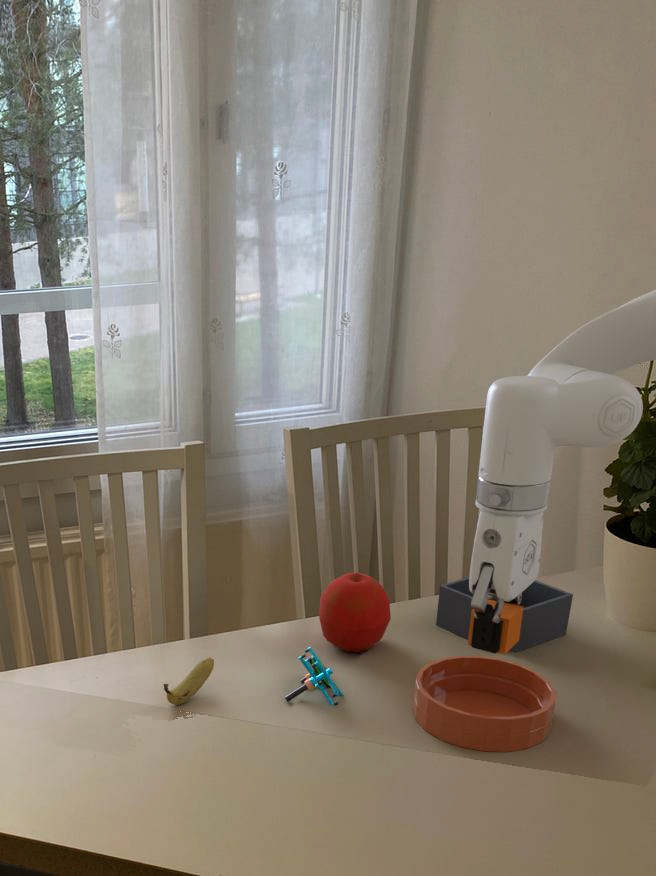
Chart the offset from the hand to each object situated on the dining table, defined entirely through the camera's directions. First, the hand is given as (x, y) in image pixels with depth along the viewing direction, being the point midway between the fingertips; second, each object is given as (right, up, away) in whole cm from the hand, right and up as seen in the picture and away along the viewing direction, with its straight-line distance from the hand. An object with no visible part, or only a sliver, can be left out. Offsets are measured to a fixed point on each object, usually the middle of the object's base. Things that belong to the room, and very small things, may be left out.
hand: (493, 640), depth 108 cm
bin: (+11, +2, +28) cm, 30 cm away
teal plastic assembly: (-20, -7, +12) cm, 24 cm away
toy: (0, 0, 0) cm, 0 cm away
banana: (-36, -8, +12) cm, 39 cm away
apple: (-12, -1, +25) cm, 28 cm away
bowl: (0, -10, +5) cm, 11 cm away
